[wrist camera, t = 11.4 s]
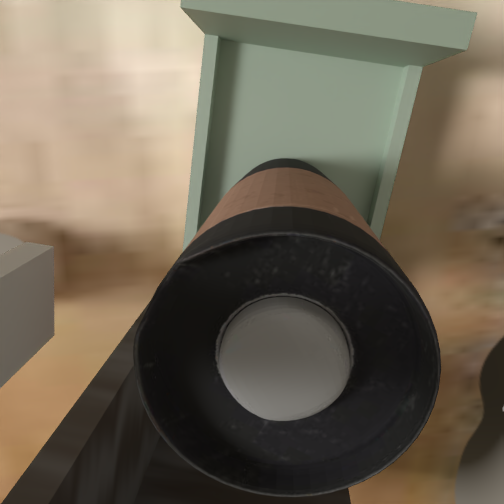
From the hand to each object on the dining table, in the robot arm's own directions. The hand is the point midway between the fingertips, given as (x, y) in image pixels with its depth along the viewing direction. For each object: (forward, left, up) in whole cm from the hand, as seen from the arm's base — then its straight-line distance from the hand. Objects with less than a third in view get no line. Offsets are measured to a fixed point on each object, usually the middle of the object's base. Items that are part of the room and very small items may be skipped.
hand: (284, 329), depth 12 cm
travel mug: (0, 0, -19) cm, 19 cm away
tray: (-2, 0, -20) cm, 20 cm away
